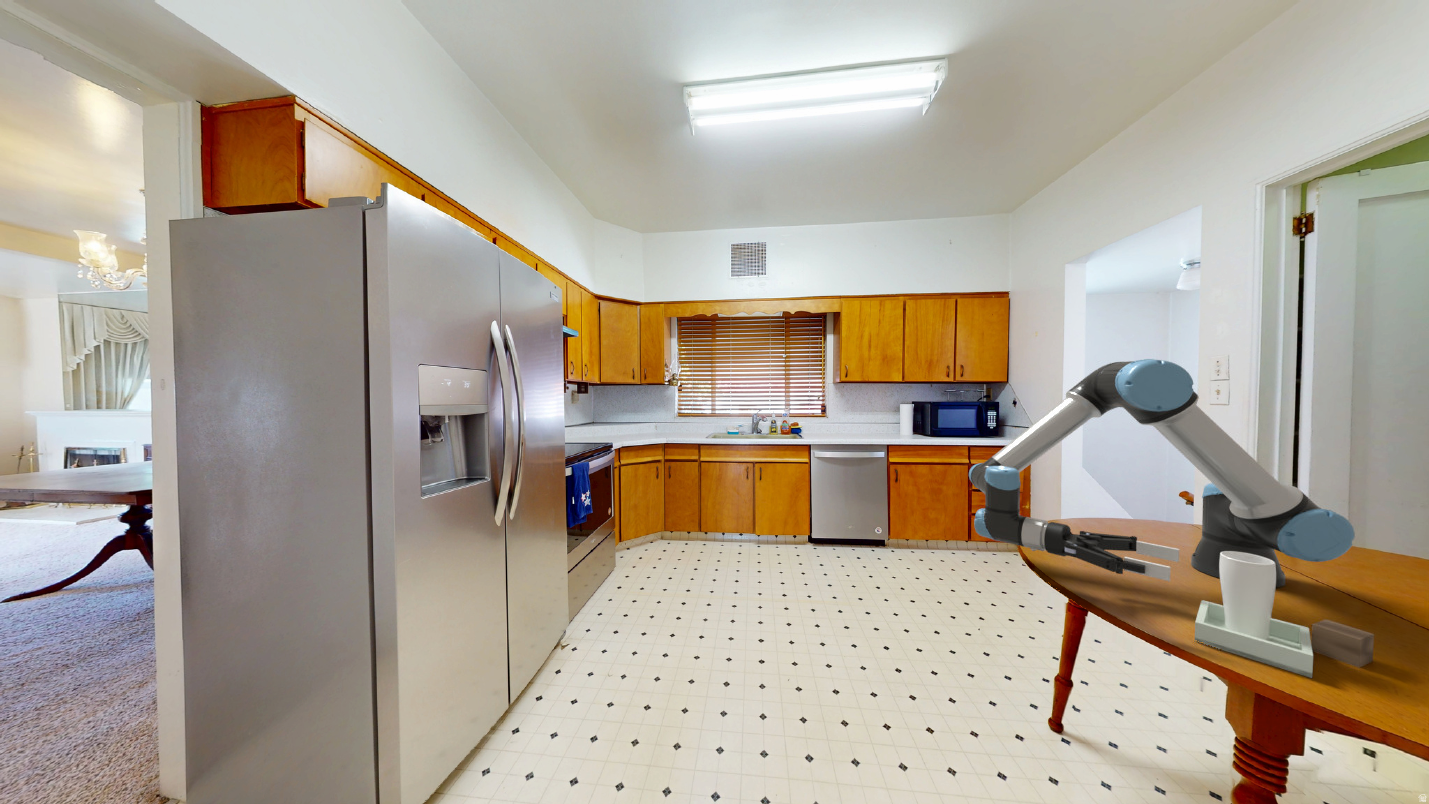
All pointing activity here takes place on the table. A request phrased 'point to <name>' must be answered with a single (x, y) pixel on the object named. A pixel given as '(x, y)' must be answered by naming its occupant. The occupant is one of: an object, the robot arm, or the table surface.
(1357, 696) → the table surface
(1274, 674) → the table surface
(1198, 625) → the tray
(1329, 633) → the walnut block
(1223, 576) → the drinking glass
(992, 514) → the robot arm
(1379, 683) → the table surface
